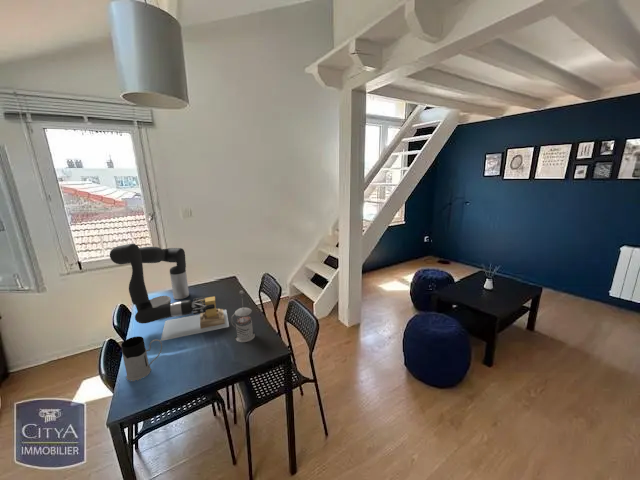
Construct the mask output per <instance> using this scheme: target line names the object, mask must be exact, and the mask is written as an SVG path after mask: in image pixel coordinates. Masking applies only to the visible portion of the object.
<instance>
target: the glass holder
mask: <svg viewBox="0 0 640 480" xmlns="http://www.w3.org/2000/svg"><path fill="white" fill-rule="evenodd" d="M153 342H159V343H160V350H159V353H158V354H157V356H155V358H153V359H152V360H151V361H150V362H149V358H148V353H147V352H149V351H151V348H152V347H151V344H152V343H153ZM162 343H163V342H162V341H161V339H152V340H151V341H150V342H149V346H148V347H149V349H147V348H146V346H145V345H146V344H145V340H144V337H142V336H133V337H132V336H131V337H129V338H127V339H125V340H124V341H122V342H121V345H120V346H121V353H122V357H123V358H122V359H123V363H124V368H125V372H126V377H125V378H127V379H128V380H130V381H129V382H136V381H135V380H137V381H140V380H142V379H141V378H143V377H144V378H146V377H148V376H149V375H150V373H151V372H152V368H151V365H152V364H153V363H154V361H156V360H157V359H158V357H159V356H160V355H161V353H162V349H163V344H162ZM150 371H151V372H150ZM145 376H146V377H145ZM144 378H143V379H144ZM127 379H126V380H127ZM139 379H140V380H139ZM128 380H127V381H128ZM131 380H132V381H131Z"/></svg>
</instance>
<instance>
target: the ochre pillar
mask: <svg viewBox="0 0 640 480" xmlns="http://www.w3.org/2000/svg"><path fill="white" fill-rule="evenodd" d="M204 304H205V305H206V306H207V305H211V304H214V306H215V308H214V309H208V310H207V311H206V313H207V318H208V317H213V316H217V312H216V309H217V304H216V296H208V297H205V303H204Z"/></svg>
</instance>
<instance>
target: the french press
mask: <svg viewBox="0 0 640 480" xmlns="http://www.w3.org/2000/svg"><path fill="white" fill-rule="evenodd" d="M244 292H245V291H243V290H239V294H241V295H243V294H244ZM241 300H242V301H241V304H242V306H244V302H243V299H241ZM252 311H253V310H252V309H251V308H249V307H239V308H238V309H236V310H235V312H234V313H233V314H232V315H231V317H230V319H231V320H232V321H230V323H231V325H232V327H234V328H235V330H236V336H235V337H234V338H235V340H236V341H237V342H238V343H239V342H240V343H246V342H251V341H252V340H254V338H255V337H256V334H255V332H254V329H253V328H254V327H253V320H252V317H251V316H250V314H252ZM234 316H235V317H237V318H236V320H235V321H236V322H234ZM233 323H234V324H233Z"/></svg>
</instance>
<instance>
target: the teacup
mask: <svg viewBox="0 0 640 480" xmlns="http://www.w3.org/2000/svg"><path fill="white" fill-rule="evenodd" d="M171 299H172V298H171V296H170V295H169V296H168V295H160V296H156V297H153V298H151V299H149V300H150V302H151V304H152V307H153V308H156V307H158V306H160V305H163V304H169V303H172V302H171Z"/></svg>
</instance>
